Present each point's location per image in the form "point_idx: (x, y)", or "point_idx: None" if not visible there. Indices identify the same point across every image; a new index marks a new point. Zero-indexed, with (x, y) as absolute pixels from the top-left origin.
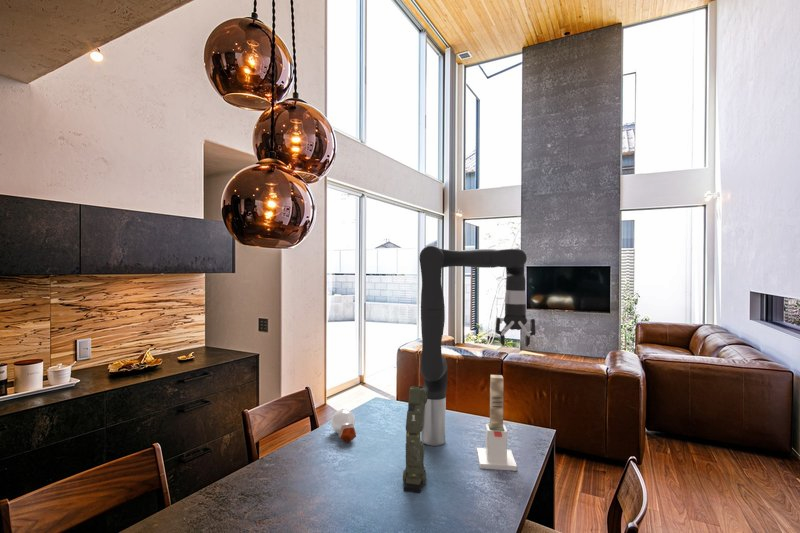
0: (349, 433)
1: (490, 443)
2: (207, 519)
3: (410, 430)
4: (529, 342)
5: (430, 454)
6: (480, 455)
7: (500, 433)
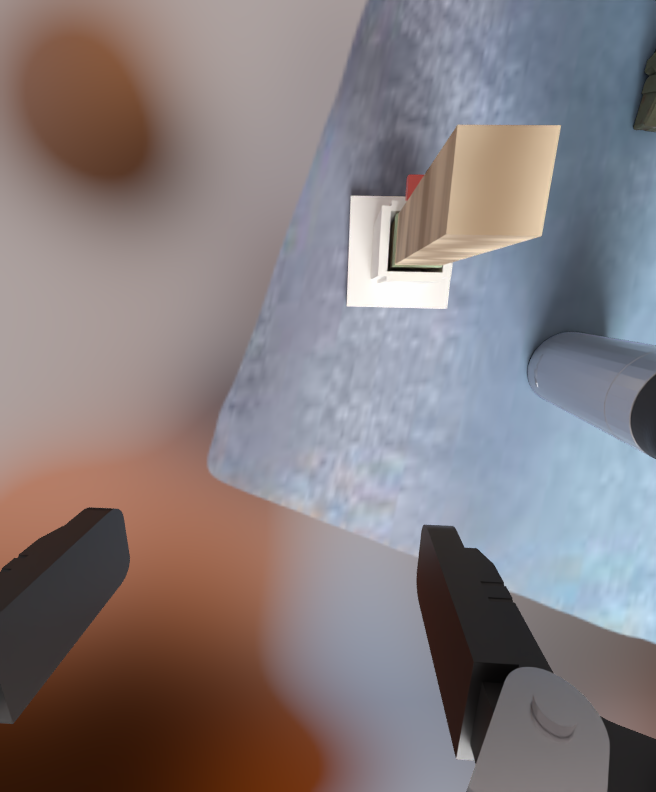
0: None
1: None
2: None
3: None
4: (28, 553)
5: (589, 274)
6: None
7: (413, 180)
